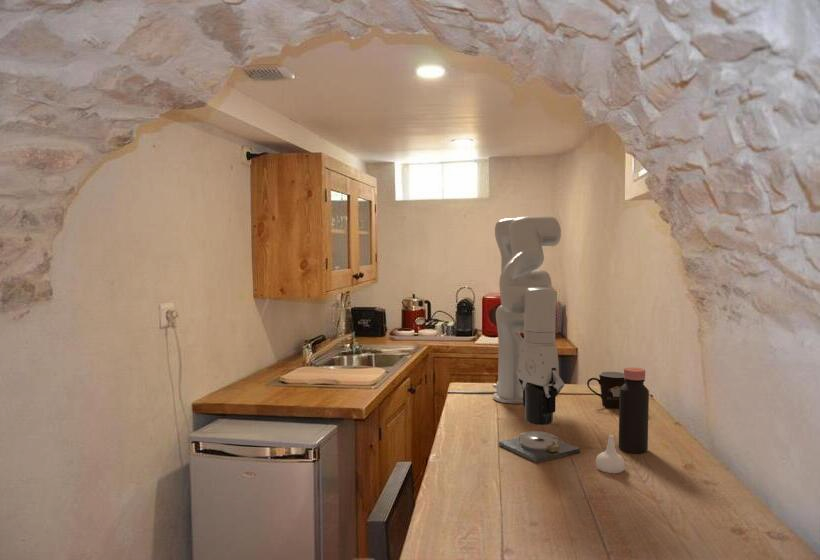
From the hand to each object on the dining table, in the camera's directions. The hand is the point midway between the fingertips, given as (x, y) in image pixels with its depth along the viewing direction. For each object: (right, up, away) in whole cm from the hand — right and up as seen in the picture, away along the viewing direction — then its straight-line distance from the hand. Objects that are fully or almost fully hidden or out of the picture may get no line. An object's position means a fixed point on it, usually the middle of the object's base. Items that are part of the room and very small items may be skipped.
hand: (538, 408), depth 148 cm
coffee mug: (+30, -8, +40) cm, 51 cm away
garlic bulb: (+13, -11, -13) cm, 22 cm away
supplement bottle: (0, -3, 0) cm, 3 cm away
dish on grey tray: (0, -10, +1) cm, 10 cm away
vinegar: (+23, -10, 0) cm, 26 cm away
